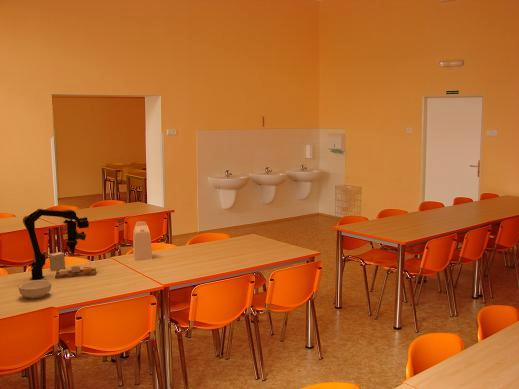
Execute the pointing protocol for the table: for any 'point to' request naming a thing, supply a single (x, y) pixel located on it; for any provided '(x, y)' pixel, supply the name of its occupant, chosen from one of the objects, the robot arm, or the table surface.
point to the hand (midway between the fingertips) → (73, 253)
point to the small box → (57, 261)
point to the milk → (141, 242)
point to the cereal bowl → (35, 288)
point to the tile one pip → (64, 271)
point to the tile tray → (75, 274)
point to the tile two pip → (75, 269)
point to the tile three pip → (87, 269)
